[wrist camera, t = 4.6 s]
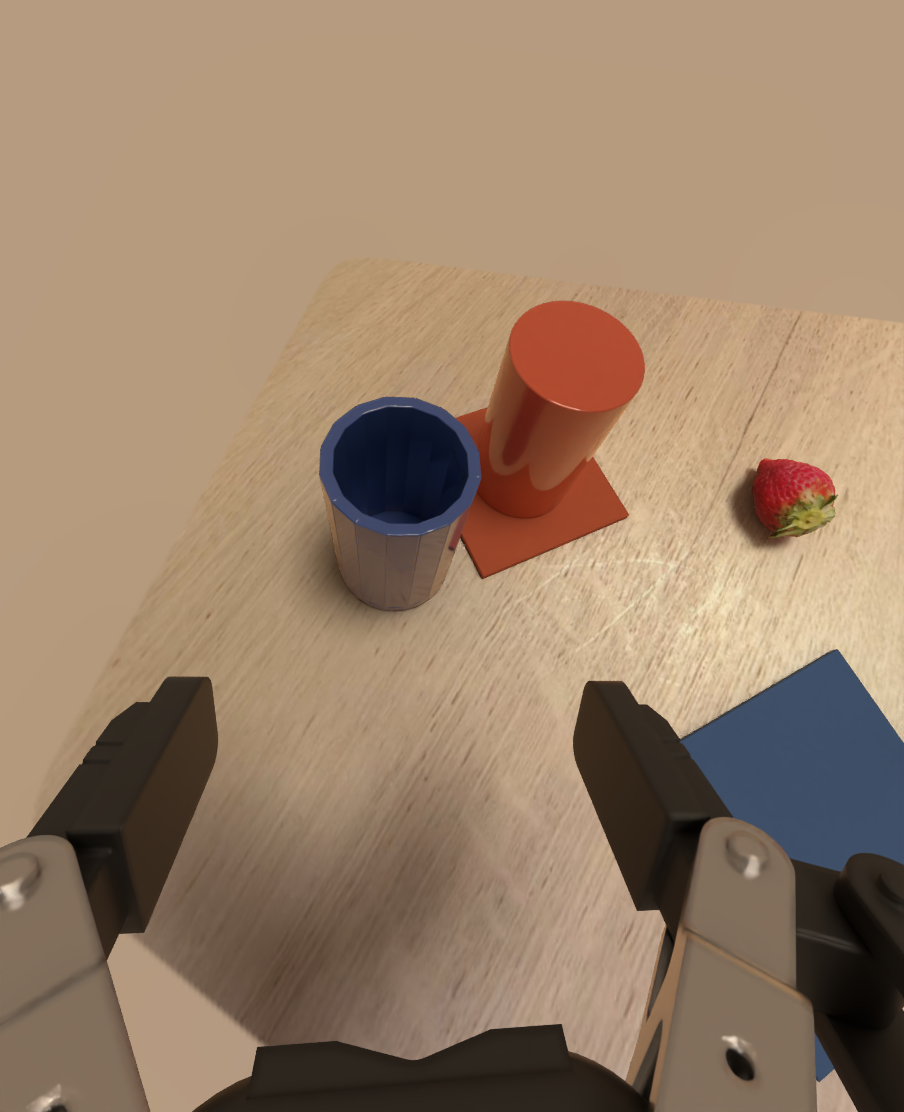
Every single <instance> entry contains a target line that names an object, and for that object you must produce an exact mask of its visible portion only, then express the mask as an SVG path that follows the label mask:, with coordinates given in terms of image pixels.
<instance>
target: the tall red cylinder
mask: <svg viewBox="0 0 904 1112" xmlns="http://www.w3.org/2000/svg"><path fill="white" fill-rule="evenodd" d="M644 373H645V363H644V357H643V354H642V350H641V348H640V346H639V344H638V342H637V340H636V339H635V337H634V336H633V335H632V333H631V332H630V331H629V330H628V329H627V328H626V327H625V326H624V325H623V324H622V323H621V322H620V321H619V320H617V319H616V318H615V317H613V316H612V315H610V314H609V313H607V312H605V311H603V310H601V309H599V308H596V307H594V306H591V305H588V304H584V303H580V302H574V301H552V302H547V303H543V304H540V305H537V306H535V307H533V308H531V309H530V310H528V311H527V312H525V313H524V314H523V315H522V316H521V317H520V318H519V319H518V320H517V322H516V323H515V324H514V326H513V328H512V330H511V333H510V336H509V340H508V343H507V346H506V349H505V353H504V356H503V359H502V362H501V366H500V369H499V372H498V375H497V379H496V382H495V385H494V389H493V392H492V395H491V398H490V402H489V405H488V408H487V411H486V415H485V418H484V421H483V424H482V428H481V431H480V434H479V437H478V441H477V444H476V447H477V448H478V451H479V455H480V466H481V481H480V484H479V487H478V490H477V492H478V494H479V495H480V496H481V498H482V499H483V500H484V501H485V502H486V503H487V504H488V505H490V506H491V507H492V508H494V509H495V510H497V511H499V512H501V513H503V514H505V515H509V516H512V517H517V518H533V517H538V516H541V515H544V514H546V513H548V512H550V511H551V510H553V509H554V508H555V507H557V506H558V505H559V503H560V502H561V501H562V500H563V498H564V497H565V495H566V494H567V492H568V491H569V490H570V488H571V487H572V485H573V484H574V482H575V481H576V480H577V478H578V477H579V475H580V474H581V472H582V471H583V470H584V468H585V467H586V465H587V464H588V462H589V461H590V460H591V458H592V457H593V455H594V454H595V452H596V451H597V450H598V448H599V447H600V445H601V444H602V442H603V441H604V440H605V438H606V437H607V435H608V434H609V432H610V431H611V430H612V428H613V427H614V425H615V424H616V422H617V421H618V420H619V418H620V417H621V415H622V414H623V412H624V411H625V410H626V408H627V407H628V405H629V404H630V403H631V401H632V400H633V398H634V397H635V395H636V394H637V393H638V391H639V389H640V387H641V385H642V382H643V379H644Z"/></svg>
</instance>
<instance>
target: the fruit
mask: <svg viewBox="0 0 904 1112" xmlns="http://www.w3.org/2000/svg"><path fill="white" fill-rule="evenodd" d="M752 493H753V498H754V506H755V511H756V514H757V516H758V517H759V520H760V521H761V522H762V524H763V525H764V526H766V527H767V528H768V529H770V530H772V531H773V534H771V535H770V536H769V537H768V538H777V537H782V536H795V537H799V536H801V535H804V534H808V533H810V532H813V531H815V530H817V529H818V528H821V527H824V526H825V525H826V524H827V522H830V521H832V518H834V517H835V514H836V513H835V508H834V507H833V504H834V500H835V499H836V498H837V496H838V495H837V496H835V488H834V486H833V482H832V480H831V479H830V477H829V476H828V475H827V474H826V473H825V472H823V471H822V470H821V469H819V468H817V467H814V466H811V465H809V464H807V463H801V462H795V461H793V460H788V459H777V460H770V459H768V458H766V459H763V460H762V461H761V462H760V463H759V466H758V468H757V476H756V478H755V479H754V482H753V487H752ZM768 538H767V539H768Z"/></svg>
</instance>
